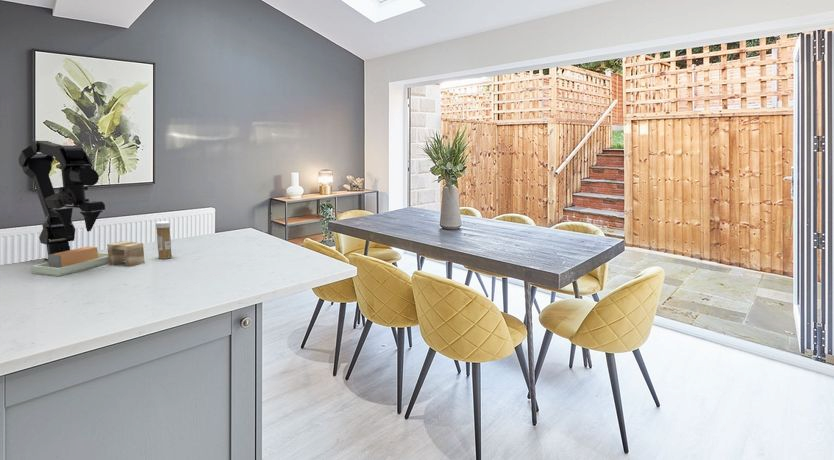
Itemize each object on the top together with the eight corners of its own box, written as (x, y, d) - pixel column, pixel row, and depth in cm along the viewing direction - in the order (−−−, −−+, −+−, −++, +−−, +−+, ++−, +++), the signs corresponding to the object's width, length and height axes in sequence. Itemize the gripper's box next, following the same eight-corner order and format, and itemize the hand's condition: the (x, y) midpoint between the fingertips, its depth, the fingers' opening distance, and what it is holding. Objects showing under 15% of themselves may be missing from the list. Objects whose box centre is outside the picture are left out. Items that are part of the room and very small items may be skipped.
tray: (31, 273, 146) (30, 265, 146) (93, 258, 167) (92, 251, 167) (59, 276, 144) (58, 269, 144) (118, 260, 165) (117, 254, 164)
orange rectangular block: (49, 270, 148) (47, 254, 148) (89, 260, 162) (87, 246, 161) (59, 271, 147) (57, 256, 147) (98, 261, 161) (97, 247, 160)
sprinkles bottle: (172, 258, 170) (170, 222, 168) (158, 259, 168) (156, 223, 165) (171, 255, 174) (168, 220, 172) (157, 257, 172) (154, 221, 169)
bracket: (108, 264, 160) (107, 244, 159) (123, 260, 166) (121, 241, 164) (130, 266, 158) (128, 246, 157) (144, 262, 164) (143, 243, 162)
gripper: (26, 184, 147) (31, 232, 150) (72, 187, 143) (76, 236, 145) (60, 181, 158) (65, 226, 161) (104, 184, 153) (108, 230, 156)
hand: (78, 230), depth 155 cm, fingers open, 9 cm apart
